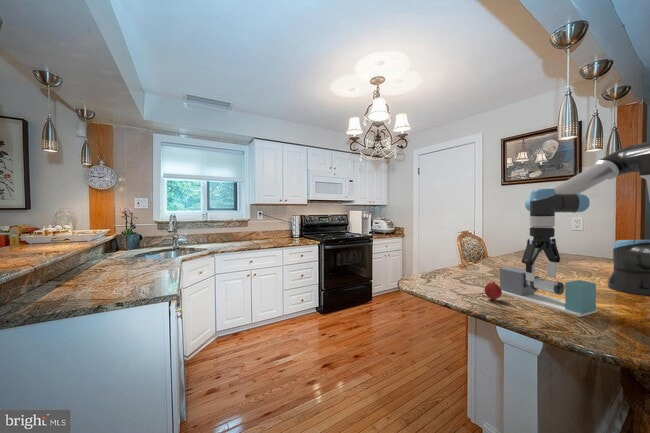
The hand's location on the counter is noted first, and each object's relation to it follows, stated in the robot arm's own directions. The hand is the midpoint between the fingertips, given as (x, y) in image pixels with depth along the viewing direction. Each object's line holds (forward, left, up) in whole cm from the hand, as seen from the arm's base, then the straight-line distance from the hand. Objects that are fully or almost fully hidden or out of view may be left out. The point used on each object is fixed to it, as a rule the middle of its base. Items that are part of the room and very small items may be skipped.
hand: (541, 279), depth 98 cm
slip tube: (0, -3, -5) cm, 6 cm away
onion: (+17, -8, -9) cm, 21 cm away
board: (0, 0, -9) cm, 9 cm away
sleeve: (0, -9, -9) cm, 13 cm away
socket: (0, +12, -9) cm, 15 cm away
